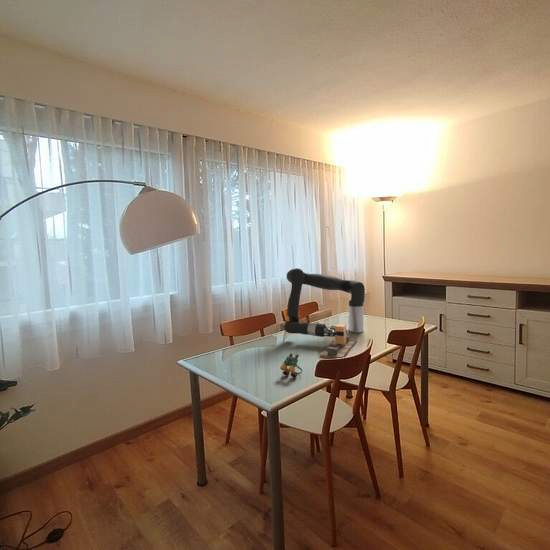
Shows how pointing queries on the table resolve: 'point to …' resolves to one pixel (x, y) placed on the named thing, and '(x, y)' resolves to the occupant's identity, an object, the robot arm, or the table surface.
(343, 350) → the track
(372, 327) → the table surface
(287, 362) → the green yellow plastic figure
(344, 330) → the tan wooden tall block
